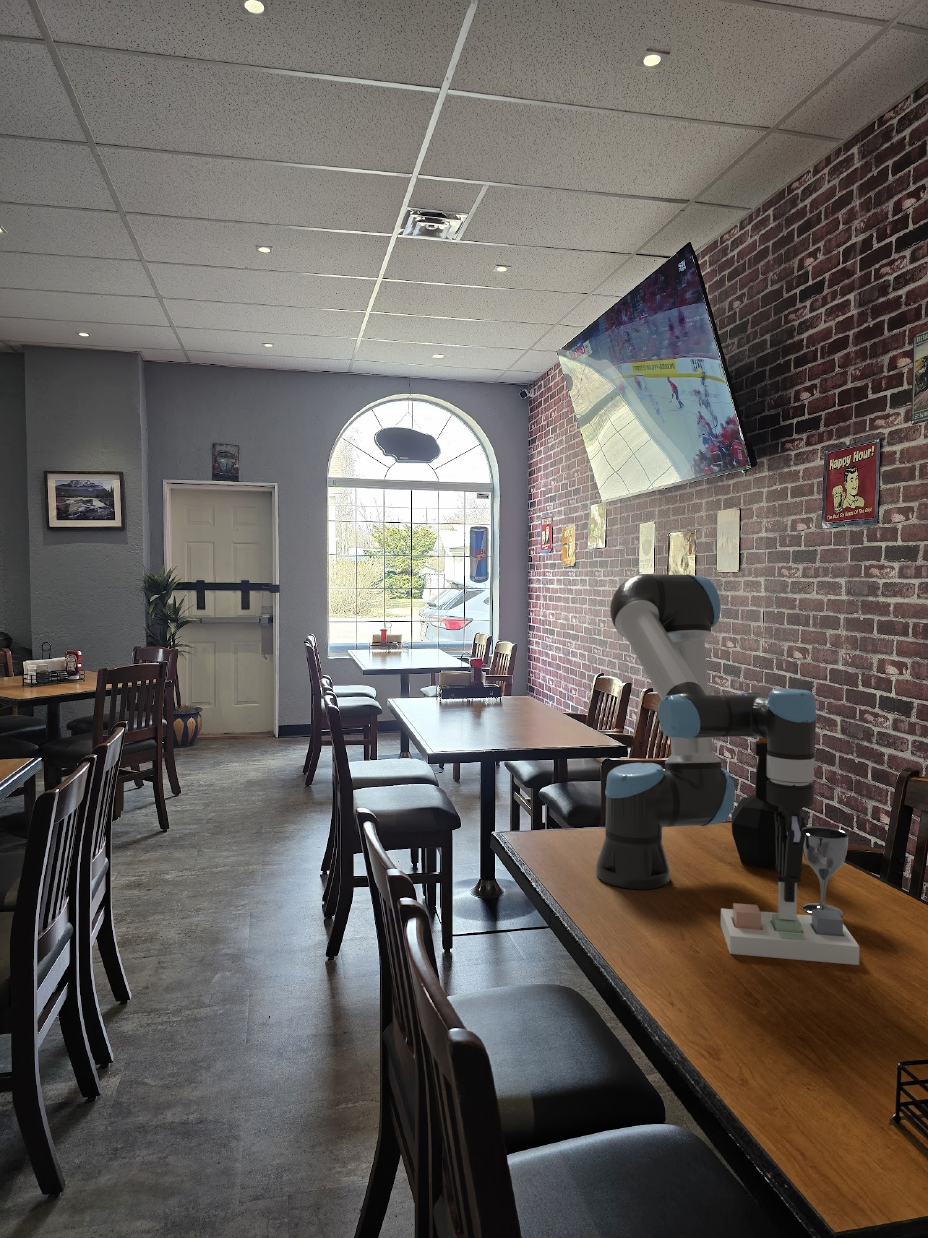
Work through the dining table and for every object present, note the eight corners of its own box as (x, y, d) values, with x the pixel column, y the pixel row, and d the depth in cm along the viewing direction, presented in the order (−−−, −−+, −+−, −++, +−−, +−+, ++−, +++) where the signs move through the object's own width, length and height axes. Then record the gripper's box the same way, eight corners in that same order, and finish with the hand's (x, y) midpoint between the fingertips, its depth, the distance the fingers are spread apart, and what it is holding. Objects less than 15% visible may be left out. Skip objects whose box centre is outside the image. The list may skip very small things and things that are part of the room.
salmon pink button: (736, 930, 138) (736, 912, 138) (732, 921, 142) (733, 903, 142) (760, 932, 138) (761, 914, 138) (756, 923, 142) (757, 905, 142)
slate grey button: (817, 937, 136) (817, 918, 136) (811, 927, 140) (811, 909, 140) (842, 939, 135) (843, 920, 135) (836, 929, 139) (836, 911, 139)
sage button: (776, 941, 137) (776, 922, 137) (771, 932, 141) (772, 913, 141) (801, 943, 137) (801, 924, 137) (795, 933, 141) (796, 915, 140)
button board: (730, 953, 135) (730, 934, 135) (720, 925, 147) (720, 907, 147) (859, 965, 131) (859, 945, 131) (838, 934, 143) (839, 916, 143)
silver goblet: (845, 907, 156) (847, 829, 155) (845, 922, 149) (848, 841, 148) (800, 900, 159) (802, 824, 159) (799, 914, 152) (801, 835, 152)
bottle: (741, 845, 194) (744, 720, 193) (814, 859, 184) (817, 727, 183) (719, 863, 181) (722, 728, 180) (796, 879, 171) (800, 737, 170)
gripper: (823, 790, 131) (819, 935, 132) (804, 773, 144) (801, 905, 144) (774, 788, 132) (771, 931, 133) (760, 771, 145) (757, 902, 146)
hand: (786, 918), depth 139 cm, fingers closed
